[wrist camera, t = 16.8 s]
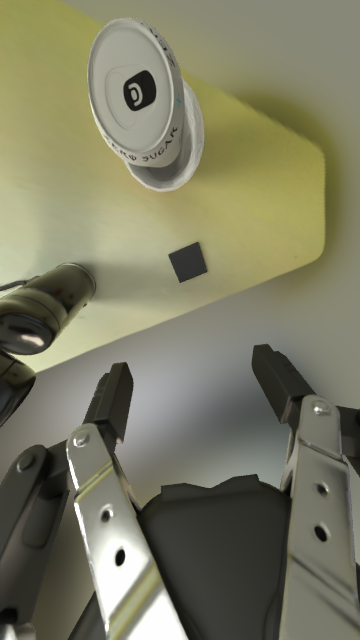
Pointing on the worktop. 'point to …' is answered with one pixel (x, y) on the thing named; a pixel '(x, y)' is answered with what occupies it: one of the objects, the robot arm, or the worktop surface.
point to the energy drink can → (136, 93)
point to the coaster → (188, 262)
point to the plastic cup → (187, 157)
